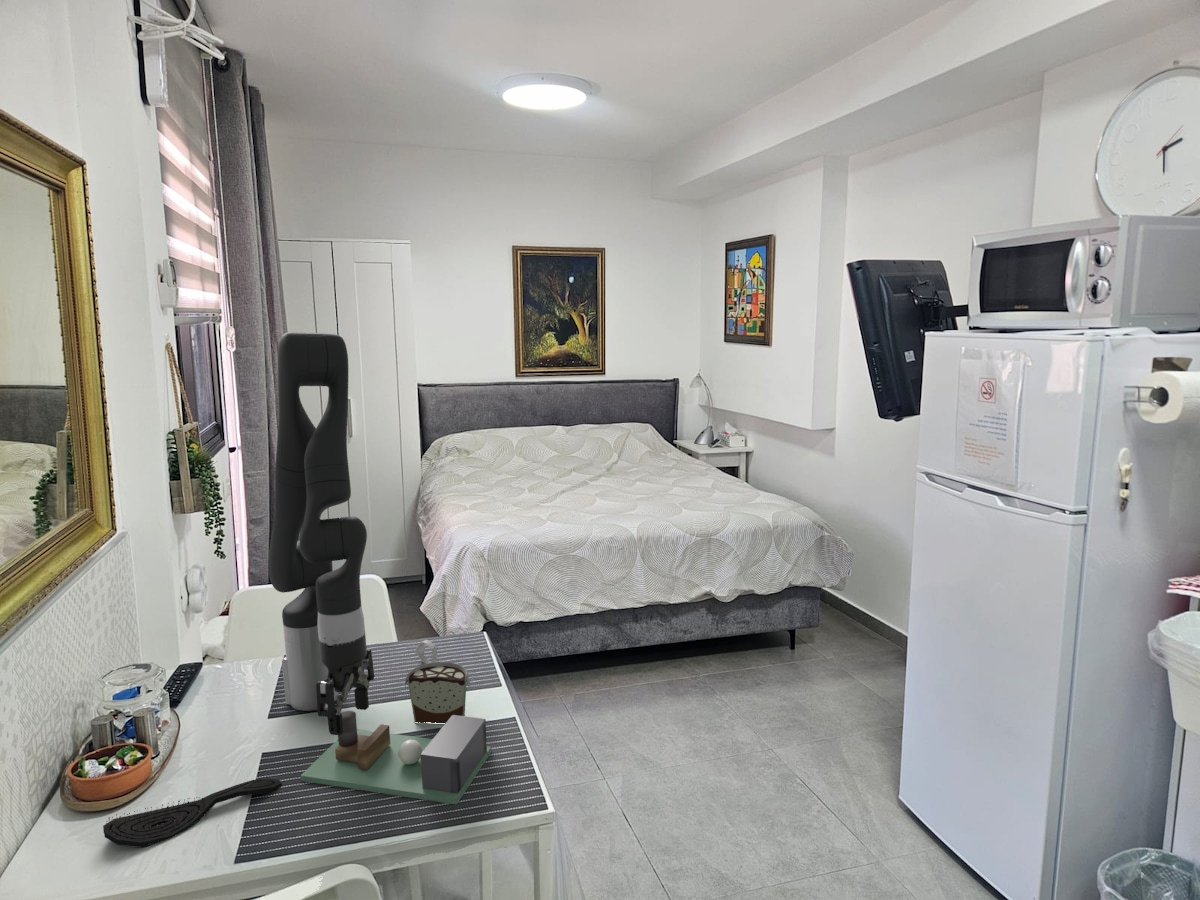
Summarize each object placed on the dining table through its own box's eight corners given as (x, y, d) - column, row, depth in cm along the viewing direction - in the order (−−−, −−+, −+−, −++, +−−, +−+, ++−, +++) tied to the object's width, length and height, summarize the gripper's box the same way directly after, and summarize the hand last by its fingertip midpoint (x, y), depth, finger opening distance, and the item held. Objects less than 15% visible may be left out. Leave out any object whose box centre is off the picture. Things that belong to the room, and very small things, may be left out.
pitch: (301, 780, 131) (300, 775, 131) (349, 733, 145) (349, 728, 145) (456, 804, 124) (456, 798, 124) (491, 751, 139) (491, 746, 138)
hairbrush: (287, 782, 127) (105, 838, 112) (288, 803, 127) (107, 862, 112) (273, 759, 133) (100, 809, 118) (274, 778, 134) (102, 831, 119)
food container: (478, 709, 153) (476, 661, 151) (470, 725, 147) (468, 676, 145) (417, 706, 154) (415, 659, 153) (407, 723, 148) (404, 674, 147)
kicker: (327, 764, 133) (324, 726, 132) (353, 738, 141) (350, 703, 140) (367, 769, 132) (364, 731, 130) (390, 743, 139) (387, 707, 138)
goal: (422, 788, 127) (420, 754, 126) (454, 746, 139) (452, 714, 138) (458, 793, 125) (456, 759, 124) (486, 750, 137) (485, 718, 136)
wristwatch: (425, 657, 176) (423, 636, 175) (440, 663, 173) (439, 642, 172) (415, 662, 173) (413, 641, 172) (430, 668, 170) (429, 647, 169)
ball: (394, 767, 133) (393, 746, 132) (405, 754, 136) (404, 733, 136) (416, 770, 132) (414, 749, 131) (426, 757, 135) (425, 736, 135)
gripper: (344, 615, 140) (351, 699, 143) (297, 649, 127) (306, 741, 129) (382, 618, 139) (389, 702, 141) (339, 652, 125) (347, 745, 128)
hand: (349, 721), depth 135 cm, fingers open, 8 cm apart
